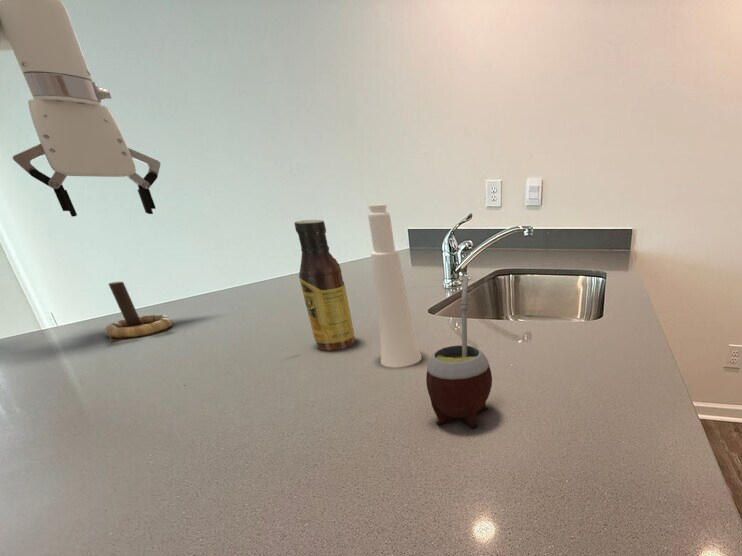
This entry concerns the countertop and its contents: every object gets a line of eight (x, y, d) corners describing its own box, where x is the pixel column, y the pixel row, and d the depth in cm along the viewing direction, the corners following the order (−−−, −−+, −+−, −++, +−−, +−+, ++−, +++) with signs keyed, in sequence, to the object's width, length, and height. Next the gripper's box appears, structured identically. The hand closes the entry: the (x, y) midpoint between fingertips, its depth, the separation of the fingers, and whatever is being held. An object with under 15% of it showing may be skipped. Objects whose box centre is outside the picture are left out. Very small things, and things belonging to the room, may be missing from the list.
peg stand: (113, 347, 71) (85, 290, 67) (110, 337, 76) (84, 283, 72) (169, 335, 76) (147, 282, 72) (163, 326, 81) (142, 276, 77)
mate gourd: (447, 442, 42) (431, 299, 35) (420, 411, 48) (401, 284, 41) (508, 421, 46) (504, 287, 39) (475, 394, 52) (467, 275, 45)
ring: (109, 343, 70) (104, 333, 69) (106, 331, 76) (101, 321, 75) (177, 329, 76) (174, 320, 75) (169, 319, 82) (166, 310, 81)
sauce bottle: (317, 343, 70) (286, 220, 62) (355, 337, 72) (330, 218, 64) (317, 356, 65) (283, 223, 56) (358, 349, 67) (331, 220, 58)
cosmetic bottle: (384, 372, 59) (354, 206, 49) (378, 358, 64) (350, 204, 54) (425, 364, 61) (405, 204, 51) (417, 351, 66) (396, 203, 56)
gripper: (136, 104, 70) (172, 212, 77) (-19, 88, 59) (41, 216, 66) (141, 97, 65) (179, 213, 72) (-26, 79, 54) (39, 218, 61)
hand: (113, 214), depth 69 cm, fingers open, 9 cm apart
